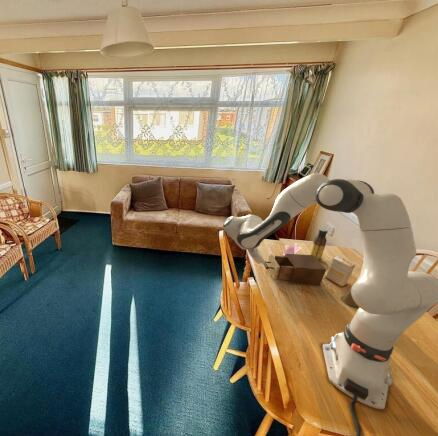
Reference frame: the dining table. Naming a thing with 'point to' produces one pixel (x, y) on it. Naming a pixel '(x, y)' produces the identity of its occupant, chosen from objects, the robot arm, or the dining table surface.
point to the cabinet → (306, 269)
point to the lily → (291, 249)
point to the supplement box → (340, 270)
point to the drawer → (279, 267)
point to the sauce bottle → (319, 244)
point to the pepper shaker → (349, 298)
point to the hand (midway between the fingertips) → (261, 257)
